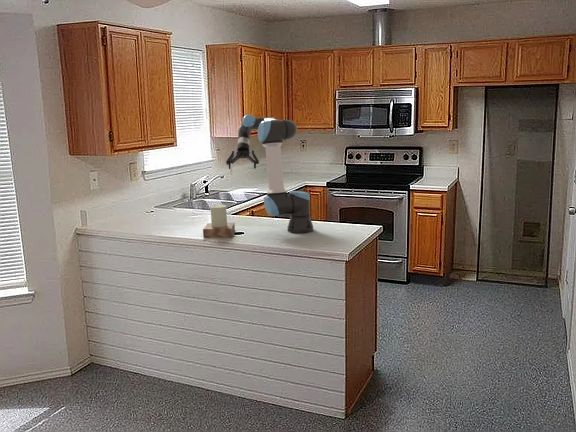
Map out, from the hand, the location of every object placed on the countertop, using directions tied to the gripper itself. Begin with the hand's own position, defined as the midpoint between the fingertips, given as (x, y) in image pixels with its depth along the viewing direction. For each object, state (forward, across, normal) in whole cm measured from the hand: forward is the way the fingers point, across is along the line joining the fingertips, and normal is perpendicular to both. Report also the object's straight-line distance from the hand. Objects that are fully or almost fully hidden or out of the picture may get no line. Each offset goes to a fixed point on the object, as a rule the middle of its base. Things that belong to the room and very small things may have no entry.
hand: (242, 172), depth 343 cm
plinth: (+40, +12, -6) cm, 43 cm away
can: (+37, +12, -2) cm, 39 cm away
